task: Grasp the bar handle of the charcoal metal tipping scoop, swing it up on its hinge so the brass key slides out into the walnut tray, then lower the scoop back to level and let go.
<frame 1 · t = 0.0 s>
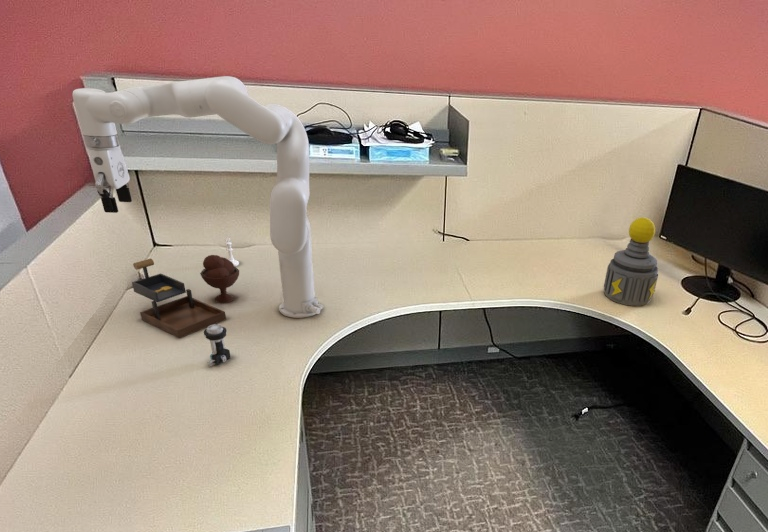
hand: (118, 206, 154), 31 cm above the table, tool pointing down, fingers open, 9 cm apart
key: (160, 290, 167), point 7 cm above the table, touching scoop
ice cream bowl: (224, 299, 180), on the table
scoop: (156, 278, 165), point 10 cm above the table, hinge at 0.0°, touching key
decorative lamp: (626, 296, 212), on the table
chess piece: (231, 264, 204), on the table
tray: (184, 319, 167), on the table
push button: (218, 362, 149), on the table
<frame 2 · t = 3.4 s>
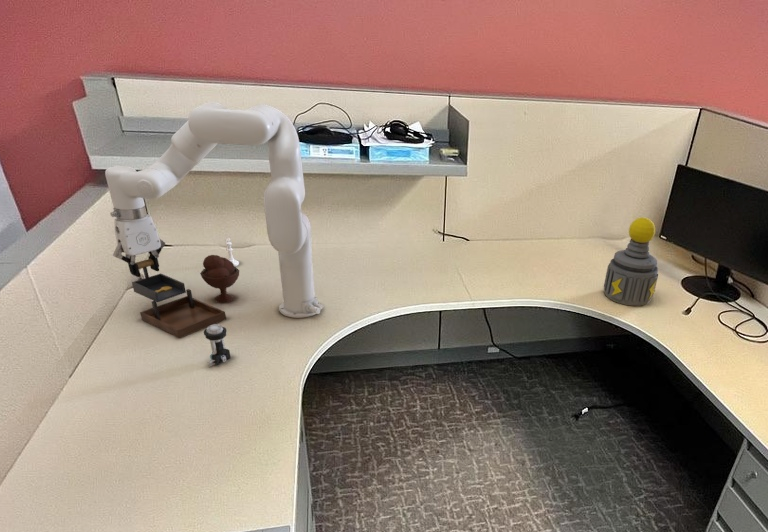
hand: (145, 272, 167), 11 cm above the table, tool pointing down, fingers closed on scoop, 5 cm apart
scoop: (156, 278, 165), point 10 cm above the table, hinge at 0.0°, touching gripper, key
everything else where it was.
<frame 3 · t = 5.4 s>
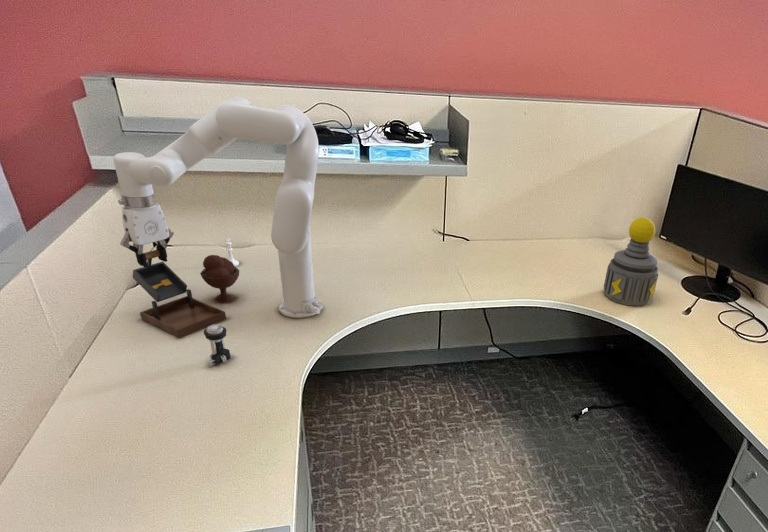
hand: (153, 262, 163), 15 cm above the table, tool pointing down, fingers closed on scoop, 5 cm apart
key: (161, 284, 166), point 9 cm above the table, tilted 26°, touching scoop
scoop: (160, 274, 163), point 12 cm above the table, hinge at 26.5°, touching gripper, key
everything else where it was.
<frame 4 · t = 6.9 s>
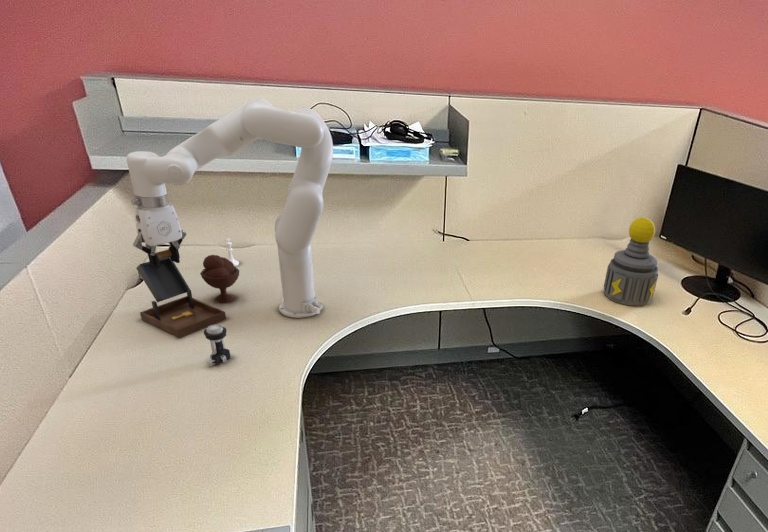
hand: (165, 263, 160), 17 cm above the table, tool pointing down, fingers closed on scoop, 5 cm apart
key: (181, 315, 167), point 1 cm above the table, tilted 180°, touching tray
scoop: (166, 274, 162), point 13 cm above the table, hinge at 52.7°, touching gripper
everything else where it was.
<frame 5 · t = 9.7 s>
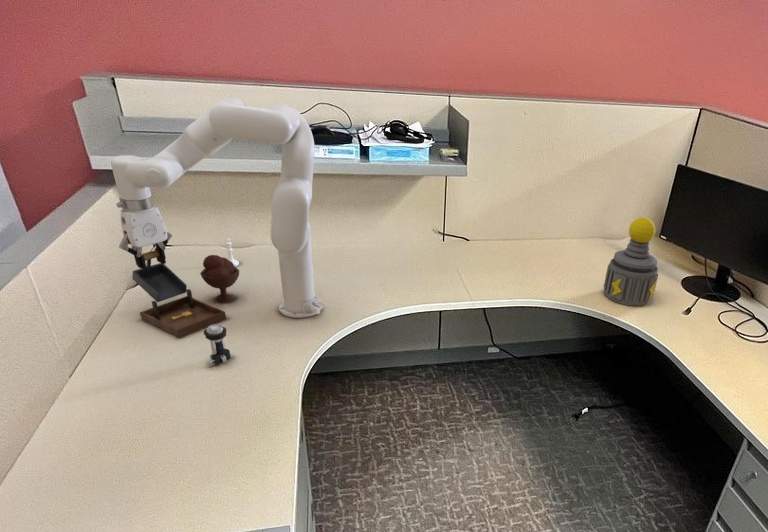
hand: (152, 264, 163), 14 cm above the table, tool pointing down, fingers closed on scoop, 5 cm apart
scoop: (159, 274, 164), point 12 cm above the table, hinge at 23.7°, touching gripper
everything else where it was.
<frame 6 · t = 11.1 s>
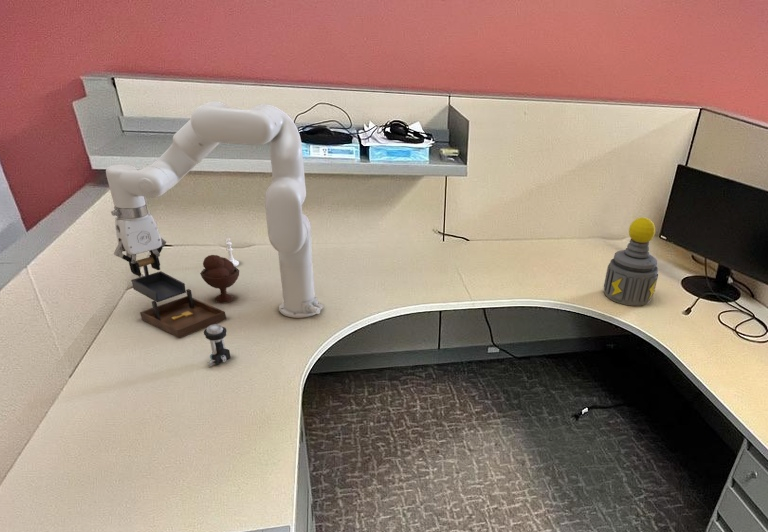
hand: (146, 271, 166), 11 cm above the table, tool pointing down, fingers open, 5 cm apart
scoop: (156, 277, 165), point 11 cm above the table, hinge at 4.3°
everything else where it was.
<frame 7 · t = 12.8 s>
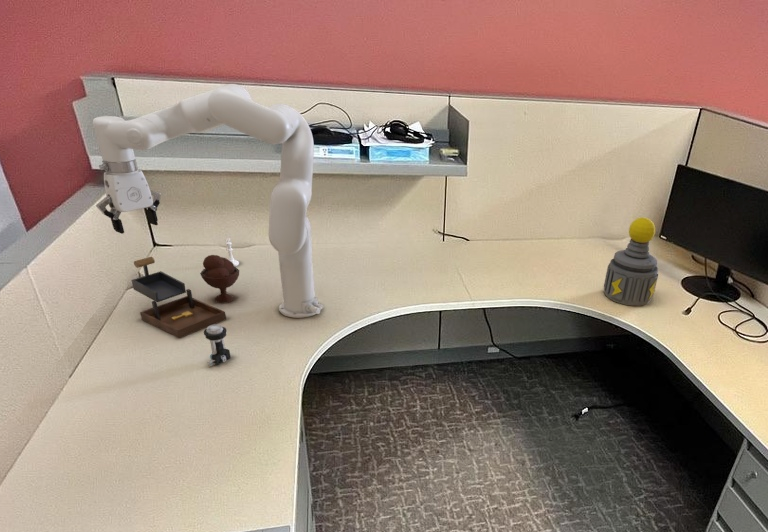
hand: (137, 228, 160), 25 cm above the table, tool pointing down, fingers open, 9 cm apart
nothing on the table moved.
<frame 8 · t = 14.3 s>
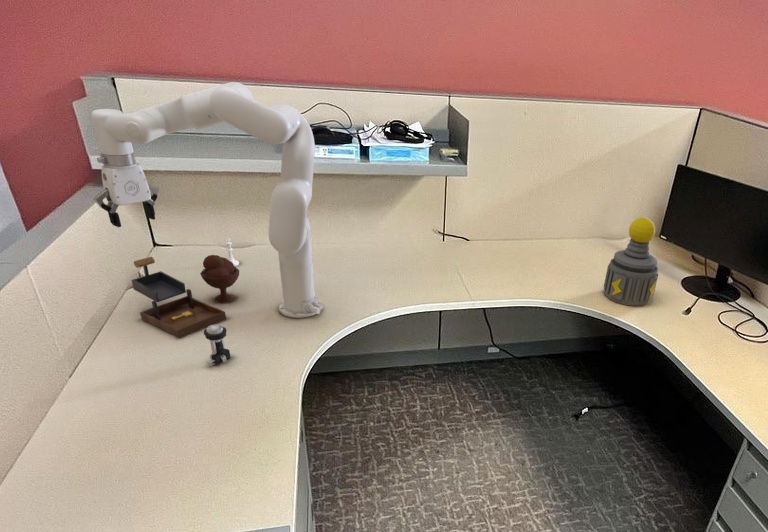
hand: (134, 222, 159), 26 cm above the table, tool pointing down, fingers open, 9 cm apart
nothing on the table moved.
at the end: key inside the target area on the tray (1.2 cm from its centre), point 1.0 cm above the tray's base; scoop reached +53° during the clip, +4° at the end; scoop at +4° (first picture: +0°) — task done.
